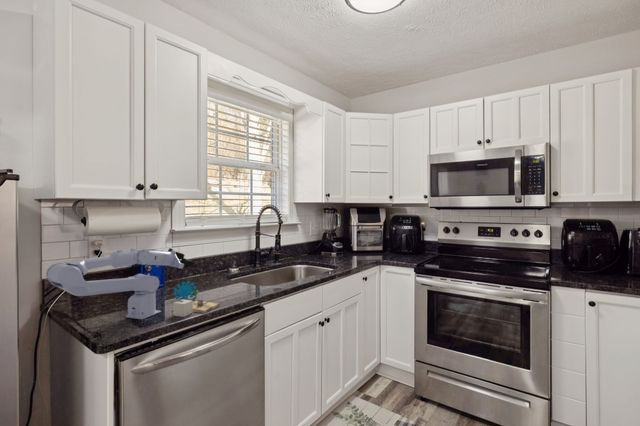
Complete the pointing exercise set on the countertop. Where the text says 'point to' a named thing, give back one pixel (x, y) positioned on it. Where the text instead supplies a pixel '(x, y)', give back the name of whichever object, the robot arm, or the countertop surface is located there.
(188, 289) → the gear
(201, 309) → the shaft plate
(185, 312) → the white cube
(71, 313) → the countertop surface
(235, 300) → the countertop surface
